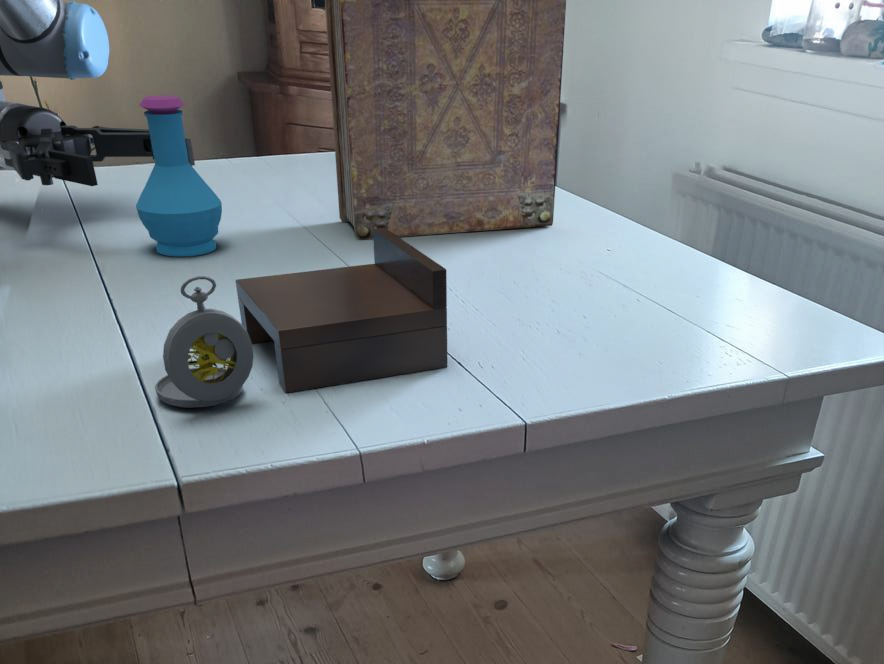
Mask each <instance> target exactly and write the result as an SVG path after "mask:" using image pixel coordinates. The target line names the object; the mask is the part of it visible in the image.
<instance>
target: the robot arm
mask: <svg viewBox="0 0 884 664" xmlns="http://www.w3.org/2000/svg"><path fill="white" fill-rule="evenodd" d="M109 58H110V41H109V35H108V31H107V28H106V26H105V23H104V21H103V19H102V17H101V15H100V14H99V12H98V11H97V10H96V9H95V8H94V7H92V6H91V5H89V4H87V3H80V2H76V1H75V0H70V1H68V2H67V1H65V0H0V76H6V77H8V76H9V77H32V78H33V77H34V78H52V79H53V78H54V79H69V80H71V81H75V80H76V79H96V78H99V77H101V76H102V75H103V74H104V73H105V72H106V71H107V68H108V65H109ZM3 88H4V85H3V83H2V80H1V79H0V169H3V170H4V169H5V170H9V171H15V172H16V173H17V174H18V176H19V177H20V179H21V180H24V181H31V180H34V178H35V177H34V176H36V177H39V178H40V182H41V185H42V186H52V185H54V180H53V179H55V180H60V181H61V180H62V181H66V182H70V183H75V184H79V185H84V186H89V187H95V186H98V185H99V183H98V179H97V175H96V170H95V166H94V162H97V163H98V162H103V161H104V160H105V159H106V158H133V157H134V158H146V157H147V158H152V160H154V155H153V149H152V144H151V138H150V133H149V128H147V129H146V128H145V129H144V128H126V127H125V128H124V127H123V128H121V127H107V126H106V127H105V126H99V125H94V126H92V127H78V126H76V125H67V124H66V122H65V121H64V120H63V118H62V117H61V116H59V115H58V114H57V113H56V112H54V111H52V110H51V109H48V108H46V107H40V106H35V105H29V104H23V103H19V102H12V101H6V100H7V99H6V97H5V92H4V89H3ZM185 142H186V148H187V154H188V160H189V163H190V165H191V166H192V167H193V166H196V163H195V155H194V149H193V143H192V139H191V138H186V137H185ZM92 146H94V149H95V154H92Z"/></svg>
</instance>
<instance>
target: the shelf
mask: <svg viewBox="0 0 884 664" xmlns="http://www.w3.org/2000/svg"><path fill="white" fill-rule="evenodd" d="M372 241H373V257H374V258H373V259H374V263H369V264H359V265H351V266H342V267H341V266H340V267H334V268H325V269H317V270H308V271H307V270H306V271H299V272H291V273H282V274H273V275H265V276H256V277H255V276H254V277H247V278H239V279H235V287H236V294H237V300H238V301H237V302H238V307H239V314H240V315H239V316H240V321H241V322H240V323H241V324H242V325H243V327H244V328H245V330H246V331H247V333H248V335H249V337H250V339H251V343H252V344H256V343H262V342H272V341H273V342H274V351H275V360H276V368H277V377H278V383H279V384H278V385H280V387H281V388H282V390H283V391H284V392H285V393H286V394H288V393H294V392H300V391H306V390H312V389H317V388H318V389H319V388H320V389H321V388H325V387H332V386H337V385H344V384H351V383H357V382H362V381H369V380H375V379H381V378H386V377H387V378H388V377H394V376H400V375H405V374H412V373H418V372H424V371H429V370H436V369H442V368H443V369H444V368H448V308H447V307H448V305H447V304H448V296H447V295H448V291H447V289H448V283H447V277H448V276H447V268H445V267H444V266H443V265H441V264H439V263H438V262H437V261H435V260H433V259H432V258H430V256H427V255H426V254H424V253H423V252H422V251H420V250H419V249H417V248H416V247H414V246H413V245H411V243H408V242H407V241H405V240H403V239H402V238H401V237H398V236H396V235H395V234H393V233H392V232H390V231H389V230H387V229H386V228H376V229H373V239H372Z"/></svg>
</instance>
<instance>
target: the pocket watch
mask: <svg viewBox="0 0 884 664" xmlns="http://www.w3.org/2000/svg"><path fill="white" fill-rule="evenodd" d="M198 280H204V281H208V282H210V284H211V285H212V286H211V288H210V289H209V290H208V291H207V292H205V291H203V290H202V287H200V286H196V287H195V288H193V291H194V292H193V293H192V294H190V295H189V294H187V292H186V290H185V289H186V287H187V286H188V285H189V284H190V283H193V282H195V281H198ZM216 287H217V282H216V280H214V278H212V277H210V276H206V275H200V276H199V275H198V276H195V277H191V278H189V279H187V280H186V281H184V282H183V283H182V284H181V286H180V293H181V295H182V296H183V297H184V298H187V299H190V301H192V302H193V303H195V304H196V310H193V311H189V312H187V313H186V314H185V315H183V316H182V317H180V318H179V319H178V320H177V321H176V322H175V323H174V324H173V326H172V327H171V328H170V329H169V331H168V333H167V335H166V338H165V341H164V343H163V351H162V352H163V353H162V360H163V367H164V369H165V372H166V375H164V376H162V377H161V378H160V379H158V380H157V382H156V383H155V385H154V389H155V394H156V396H157V398H158V400H160V401H162V402H163V403H165V404H167V405H168V406H169V405H170V406H174V407H179V408H191V409H192V408H193V409H194V408H207V407H212V406H217V405H221V404H223V403H226V402H229V401H232V400H233V399H234V398H237V397H238V396H239V395H240V394H241V393H242V391H243V389H244V385H245V383H246V382H247V380H248V378H249V376H250V374H251V371H252V369H253V364H254V347H253V343H251V339H250V337H249V335H248V333H247V331H246V330H245V328H244V327H243V325H242V322H240V321H239V320H238V319H237V318H236V317H234V316H233V315H231V314H230V313H228V312H226V311H223V310H220V309H215V308H206V307H205V302H206V301H208V299H209V296H210V295H212V294H213V293H214V292H215V290H216V289H217V288H216ZM191 354H192V355H191ZM193 358H194V359H195V360H193ZM217 364H218V365H222V366H223V367H218V365H217ZM190 366H193V367H191V368H190ZM226 367H227V368H226Z"/></svg>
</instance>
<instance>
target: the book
mask: <svg viewBox="0 0 884 664" xmlns="http://www.w3.org/2000/svg"><path fill="white" fill-rule="evenodd" d="M324 10H325V23H326V25H325V26H326V38H327V52H328V53H327V55H328V67H329V83H330V96H331V111H332V125H333V127H332V128H333V141H334V155H335V157H334V158H335V172H336V184H337V197H338V198H337V200H338V213H339V219H340V221H341V222H342V223H348V222H349V223H350V224H351V225H352V226H353V229H354V237H355V238H356V239H357V240H360V241H361V240H362V241H363V240H373V229H376V228H386V229H387V230H389V231H390V232H392V233H393V234H395V235H396V236H398V237H399V238H401V237H414V236H426V235H427V236H428V235H429V236H430V235H442V234H455V233H468V232H482V231H497V230H509V229H510V230H511V229H521V228H522V229H524V228H537V227H551V226H553V223H554V212H555V199H556V198H555V197H556V181H557V180H556V179H557V165H558V163H557V162H558V149H559V148H558V147H559V131H560V129H559V128H560V114H561V113H560V111H561V97H562V96H561V95H562V94H561V93H562V78H563V64H564V63H563V60H564V45H565V44H564V43H565V27H566V14H567V13H566V11H567V0H324Z"/></svg>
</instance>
